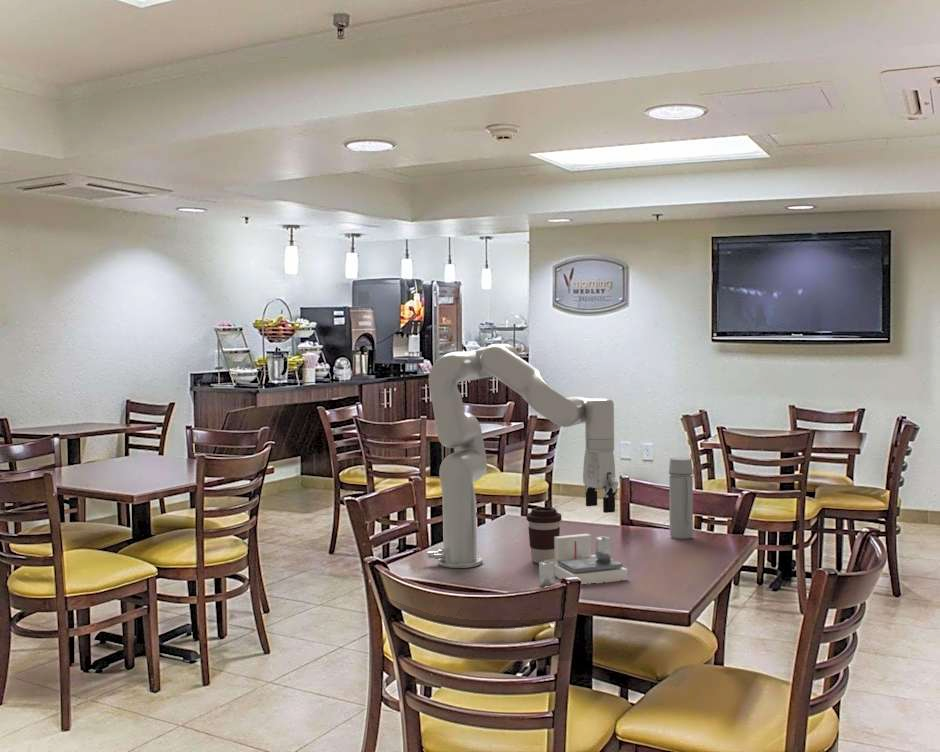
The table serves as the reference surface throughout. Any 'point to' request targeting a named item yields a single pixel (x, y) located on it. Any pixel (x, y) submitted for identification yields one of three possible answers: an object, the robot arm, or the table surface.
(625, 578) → the scale body
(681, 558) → the table surface
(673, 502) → the water bottle
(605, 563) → the grey flat plate
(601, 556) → the glass jar
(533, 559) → the coffee cup
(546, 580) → the spacer
